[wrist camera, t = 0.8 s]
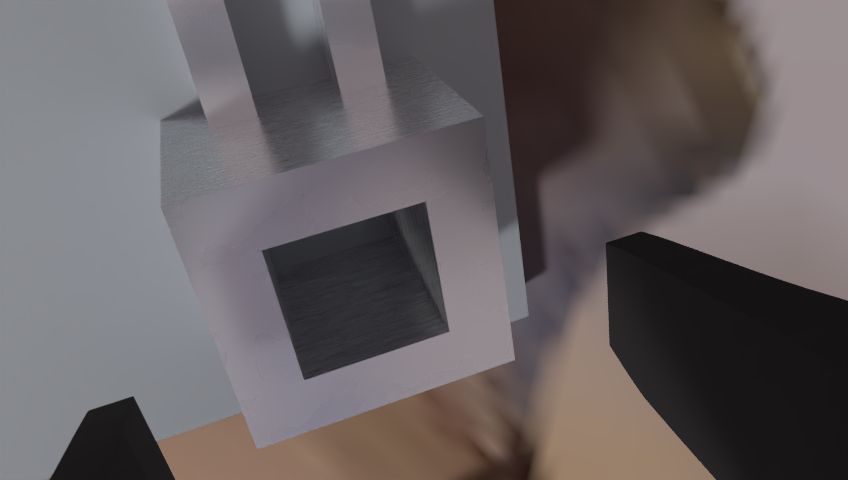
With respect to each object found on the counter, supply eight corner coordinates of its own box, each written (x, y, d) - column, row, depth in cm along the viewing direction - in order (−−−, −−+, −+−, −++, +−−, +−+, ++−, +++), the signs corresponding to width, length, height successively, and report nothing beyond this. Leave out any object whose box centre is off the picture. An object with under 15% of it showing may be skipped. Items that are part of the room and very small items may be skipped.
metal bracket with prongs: (448, 262, 18) (514, 360, 15) (238, 329, 17) (257, 449, 14) (385, -102, 14) (458, -82, 10) (100, -40, 13) (80, 4, 9)
